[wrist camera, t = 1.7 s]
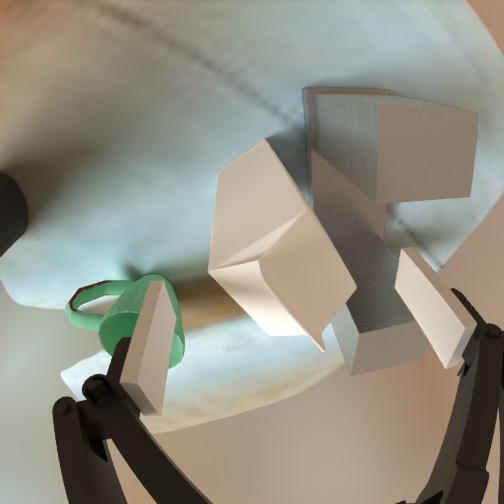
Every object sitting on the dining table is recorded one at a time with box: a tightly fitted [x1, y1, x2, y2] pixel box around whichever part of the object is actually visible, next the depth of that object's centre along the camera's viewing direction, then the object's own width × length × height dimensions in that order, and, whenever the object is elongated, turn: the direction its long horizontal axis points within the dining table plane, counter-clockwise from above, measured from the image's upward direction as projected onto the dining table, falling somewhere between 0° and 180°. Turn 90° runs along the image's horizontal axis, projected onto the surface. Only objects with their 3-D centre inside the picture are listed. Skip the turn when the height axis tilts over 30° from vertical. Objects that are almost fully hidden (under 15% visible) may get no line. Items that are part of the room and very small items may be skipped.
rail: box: [302, 88, 478, 376], centre depth 27 cm, size 24×9×16 cm, turn 6°
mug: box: [65, 274, 185, 369], centre depth 34 cm, size 15×10×10 cm
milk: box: [208, 139, 357, 352], centre depth 23 cm, size 6×6×22 cm
